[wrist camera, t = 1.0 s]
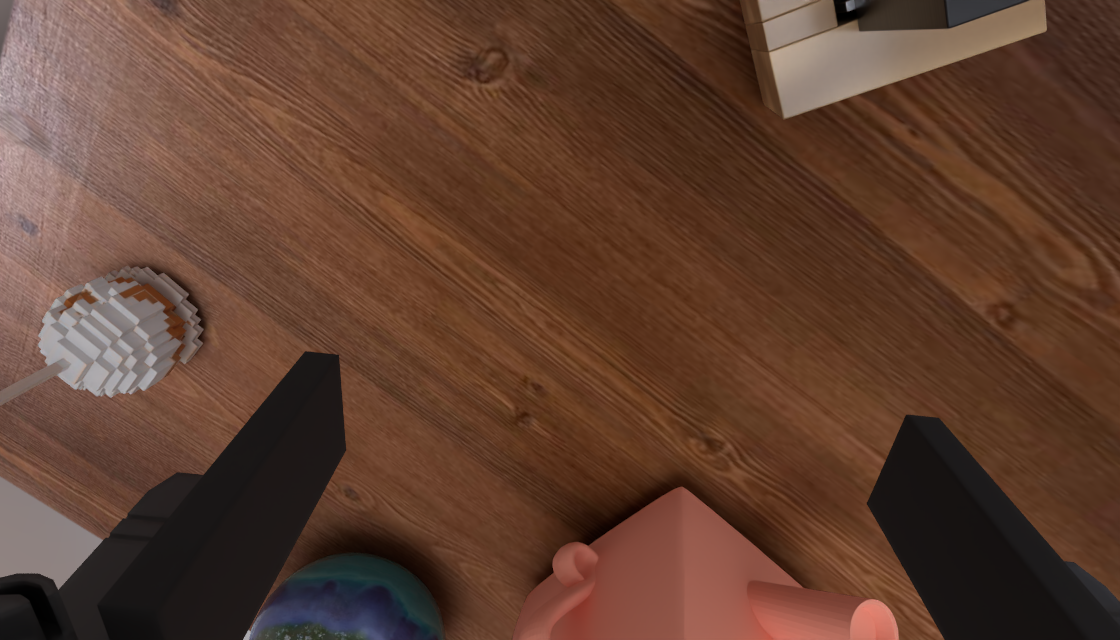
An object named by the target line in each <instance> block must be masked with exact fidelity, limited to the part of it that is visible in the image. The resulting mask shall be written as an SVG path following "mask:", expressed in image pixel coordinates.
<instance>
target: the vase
mask: <svg viewBox="0 0 1120 640" xmlns="http://www.w3.org/2000/svg"><path fill="white" fill-rule="evenodd" d="M249 640H446V637H445V628H444V623H443V619H442V616H441V612H440V609H439V607H438V605H437V603H436V601H435V599H434V597H433V596H432V594H431V593H430V591H429V589H428V588H427V587H426V586H425V585H424V583H423V582H422V581H421V580H420V579H419V578H417V577H416V576H415V575H414V574H413V573H411V572H410V571H409V570H407V569H406V568H405V567H403V566H401V565H399V564H397V563H396V562H393V561H391V560H389V559H386V558H383V557H380V556H377V555H372V554H367V553H356V552H354V553H340V554H335V555H330V556H327V557H324V558H321V559H319V560H316V561H314V562H311V563H310V564H308V565H306V566H304V567H302V568H301V569H299V570H298V571H296V572H295V573H293V574H292V575H291V576H289V577H288V578H287V579H286V580H285V581H283V582H282V583H281V584H280V585H279V587H278V588H277V589H276V590H275V591H274V592H273V593H272V594H271V595H270V596H269V598H268V599H267V600H266V602H265V603H264V605H263V606H262V608H261V610H260V612H259V613H258V615H257V617H256V619H255V622H254V624H253V626H252V630H251V634H250V639H249Z"/></svg>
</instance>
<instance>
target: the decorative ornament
mask: <svg viewBox="0 0 1120 640" xmlns="http://www.w3.org/2000/svg"><path fill="white" fill-rule="evenodd" d="M188 295H189V294H188V293H187V292H186V291H184V290H183V289H182V288H181V287H180V286H178V285H177V284H176V283H175V282H174V281H173V280H171V279H170V278H169V277H168V276H167V275H166V274H164V273H162V274H160V275H156V274H155V273H154V272H153V271H152V270H151V269H149V268H148V267H145V268H143V269H140V268H139V267H138V266H137V267H134V268H132V269H131V268H130V267H129V266H126V267H123V268H121V270H120V271H119V273H118V272H117V271H116V270H114V271H111V272H109V273H108V275H107V276H106V278H105V279H104V278H103V277H99V278H97V279H94V280H92V281H90V282H87V284H86V285H85V286H83V285H82V284H80V285H78V286H75V287H73V288H70V289H68V290H66V292H65V294H64V295H63V296H61V297H58V298H56V299H55V301H54V303H53V305H52V306H51V308H50V309H51V310H49V311H47V313H46V315H45V317H44V318H43V320H42V322H43V323H44V324H45V325H44V327H43V329H42V330H41V332H40V334H39V337H40V338H41V341H40V342H39V344H38V346H39V347H40V348H41V351H40V352H41V353H42V354H43V355H45V356H46V357H47V358H46V360H45V362H46V363H47V364H48V366H47V367H45V368H43V369H41V370H39V371H37V372H36V373H34V374H32V375H30V376H28V377H26V378H24V379H22V380H20V381H18V382H16V383H14V384H13V385H11V386H9V387H7V388H5V389H3V390H1V391H0V406H1V405H2V404H4V403H6V402H8V401H10V400H12V399H13V398H15V397H17V396H19V395H21V394H23V393H24V392H26V391H28V390H30V389H32V388H34V387H35V386H37V385H39V384H41V383H43V382H45V381H46V380H48V379H50V378H52V377H54V376H56V375H57V376H58V377H60V378H61V379H62V380H64V381H65V382H66V383H67V384H69V385H70V386H71V387H73V388H74V389H75V390H76V389H79V390H81V389H83V390H86V389H88V390H89V391H91V392H92V393H93V394H94V395H96V396H103V395H105V394H107V395H108V396H109V397H113V396H114V395H116V394H118V393H119V392H120V393H123V394H125V393H127V392H128V393H130V394H133V393H134V392H136V391H137V390H139V389H140V388H141V389H142V390H143V391H145V390H146V389H148V388H149V387H151V386H152V385H154V384H155V383H157V382H158V381H160V380H161V379H163V378H164V377H166V376H168V375H169V373H170V372H171V371H172V369H173V368H174V367H175V365H177V364H178V363H179V361H182V362H183V363H184V364H186V363H187V362H189V361H190V360H191V359H192V357H193V356H194V355H195V353H196V352H197V351H198V350H199V348H200V347H201V346H202V344H203V343H202V342H201V341H200V340H198V339H197V338H198V337H199V335H200V334H201V333H202V331H203V330H204V329H203V328H201V327H200V326H199V325H198V323H199V322H200V321H201V319H200V318H198V317H197V316H196V315H195V314H196V312H197V311H198V309H197V308H195V307H194V306H193V305H192V304H191V303H190V302H188V301H187V300H186V298H187V297H188Z"/></svg>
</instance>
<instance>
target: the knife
mask: <svg viewBox="0 0 1120 640" xmlns="http://www.w3.org/2000/svg"><path fill="white" fill-rule="evenodd" d="M833 1H834V6H835V12H836V13H842V12H849V11H851V10H854V9H856V15H857V21H858V27H859V31H860V32H865V31H896V30H927V29H951V28H953V27H956V26H959V25H962V24H965V23H968V22H970V21H973V20H976V19H979V18H982V17H985V16H988V15H990V14H993V13H996V12H999V11H1002V10H1005V9H1007V8H1010V7H1013V6H1016V5H1019V4H1022V3H1024V2H1027V1H1030V0H833Z"/></svg>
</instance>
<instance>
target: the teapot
mask: <svg viewBox="0 0 1120 640" xmlns="http://www.w3.org/2000/svg"><path fill="white" fill-rule="evenodd" d="M553 570H554V573H553V574H551V575H550V576H549V577H548V578H546V579H545V580H544V581H543V582H542V583H540V584H539V585H538V586H537V587H536V588H535V589H533V590H532V591H531V592H530V593H529V594H528V596H527V597H526V600H525V602H524V604H523V607H522V610H521V612H520V615H519V618H518V620H517V623H516V626H515V630H514V634H513V638H512V640H899V637H898V628H897V624H896V621H895V618H894V616H893V614H892V613H891V611H890V610H889V608H888V607H887V606H886V605H885V604H883V603H882V602H880V601H878V600H875V599H869V598H862V597H856V596H850V595H844V594H838V593H831V592H825V591H819V590H813V589H806V588H803V587H802V586H801V585H800V584H799V583H797V582H796V581H795V580H794V579H793V578H792V577H791V576H789V575H788V574H787V573H786V572H785V571H784V570H782V569H781V568H780V567H779V566H778V565H777V564H775V563H774V562H773V561H772V560H771V559H770V558H769V557H767V556H766V555H765V554H764V553H763V552H762V551H760V550H759V549H758V548H757V547H756V546H755V545H753V544H752V543H751V542H750V541H749V540H747V539H746V538H745V537H744V536H743V535H741V534H740V533H739V532H738V531H737V530H735V529H734V528H733V527H732V526H731V525H729V524H728V523H727V522H726V521H725V520H724V519H722V518H721V517H720V516H719V515H718V514H716V513H715V512H714V511H713V510H712V509H710V508H709V507H708V506H707V505H706V504H704V503H703V502H702V501H701V500H699V499H698V498H697V497H696V496H694V495H693V494H692V493H691V492H689V491H688V490H687V489H685V488H684V487H678V488H676V489H673V490H671V491H670V492H668V493H666V494H665V495H663V496H661V497H660V498H658V499H657V500H655V501H653V502H652V503H650V504H649V505H647V506H646V507H644V508H643V509H641V510H640V511H638V512H637V513H635V514H634V515H632V516H631V517H629V518H628V519H626V520H625V521H623V522H622V523H620V524H619V525H617V526H616V527H614V528H613V529H611V530H610V531H608V532H607V533H605V534H604V535H603V536H601V537H600V538H598V539H597V540H596V541H594V542H593V543H591V544H590V545H589V546H587V545H585V544H583V543H580V542H572V543H568V544H566V545H564V546H562V547H561V548H560V549H559V550H558V551H557V553H556V554H555V556H554V558H553Z"/></svg>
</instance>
